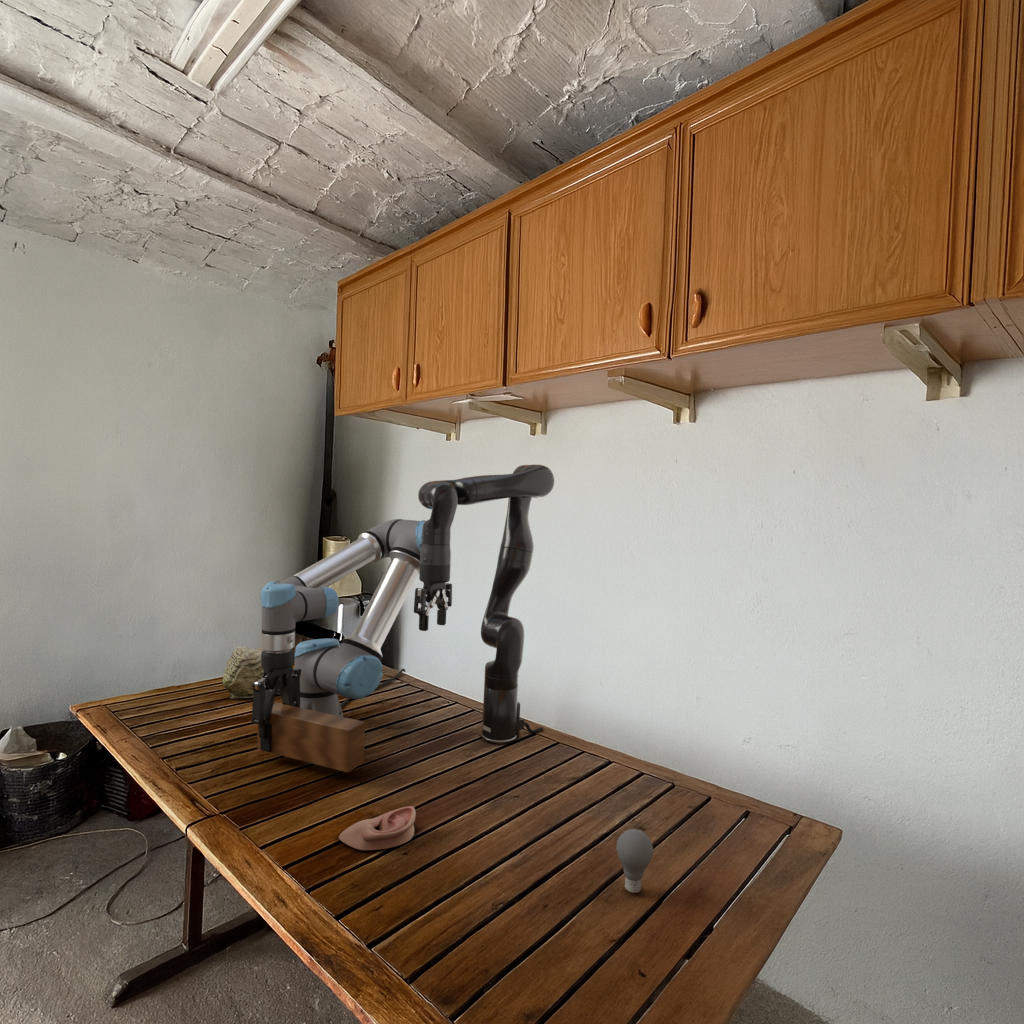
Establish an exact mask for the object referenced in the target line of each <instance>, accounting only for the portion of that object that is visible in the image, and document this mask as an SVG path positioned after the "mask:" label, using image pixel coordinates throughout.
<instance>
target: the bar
mask: <svg viewBox="0 0 1024 1024" xmlns="http://www.w3.org/2000/svg"><path fill="white" fill-rule="evenodd" d="M264 719H265V718H264ZM269 723H271V724H272V747H271V752H269V753H271V754H274V755H278V756H282V757H284V758H285V757H286V758H290V759H294V760H298V761H302V762H306V763H309V764H312V765H317V766H320V767H324V768H329V769H333V770H336V771H339V772H343V773H349V772H351V771H353V770H354V769H356V768H357V767H359V766H361V765H362V764H364V763H365V744H366V743H365V742H366V741H365V740H366V739H365V738H366V721H363V720H360V719H354V718H350V717H345V716H343V717H341V716H336V715H331V714H327V713H322V712H317V711H313V710H308V709H304V708H299V707H294V706H290V705H285V704H282V703H281V702H280V703H279V702H274V704H273V708H272V712H271V717H270V721H269ZM256 733H257V734H256V749H257V750H258V751H261V750H260V738H259V724H257V731H256Z"/></svg>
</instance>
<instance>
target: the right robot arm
mask: <svg viewBox="0 0 1024 1024" xmlns="http://www.w3.org/2000/svg"><path fill="white" fill-rule="evenodd" d="M554 487H555V475H554V473H553V471H552V470H551V469H550V468H549V467H548V466H546V465H542V464H522V465H519V466H517V467H516V468H515V469H514V470H513V472H512V473H507V474H505V473H504V474H484V475H475V476H474V475H473V476H468V477H467V476H466V477H461V478H457V479H443V480H431V481H428V482H427V481H426V482H425V483H424V484H422V485H421V486H420V489H419V490H418V494H417V495H418V496H417V497H418V501H419V503H420V504H421V505H422V506H423V507H424V508H425V509H428V510H431V513H430V518H429V519H426V520H425V522H424V524H423V529H422V546H421V552H420V574H418V576H419V577H418V579H419V581H420V582H422V583H423V586H422V588H420V587H416V588H415V589H414V601H413V613H414V614H416V615H418V630H419V631H421V632H426V631H427V632H428V631H429V620H430V619H429V617H430V616H429V614H430V611H431V610H432V609H433V608H434V606H435V605H436V607H437V610H436V612H437V614H436V625H438V626H446V624H447V611H448V610H449V608H450V607H452V605H453V584H452V583H449V582H450V581H451V562H452V550H451V548H452V547H451V541H452V540H451V538H452V525H453V523H454V520H455V515H456V512H457V508H458V506H470V505H476V504H477V505H478V504H482V503H487V502H493V501H497V500H502V499H503V500H504V499H508V500H507V501H508V502H507V510H506V516H505V522H504V528H503V534H502V539H501V542H500V547H499V552H498V556H497V563H496V568H495V573H494V577H493V581H492V588H491V592H490V595H489V598H488V600H487V601H488V602H487V605H486V608H485V612H484V614H483V618H482V621H481V626H480V638H481V640H482V642H483V643H484V644H485V645H486V646H488V647H490V648H494V649H496V652H495V658H494V660H493V659H492V660H489V661H488V662H486V663H485V665H484V678H483V679H484V680H483V701H482V702H483V703H482V705H483V706H482V727H481V739H482V740H483V741H485V742H487V743H490V744H497V745H504V744H505V745H506V744H511V743H514V742H515V741H516V740H517V739H519V738H520V731H522V730H524V728H526V730H527V732H528V733H530V734H537V733H540V732H543V731H544V727H543V726H541V727H538V728H534V729H532V728H531V726H530V724H529V723H527V722H526V721H525V718H523V717H521V703H520V701H518V699H519V678H520V676H519V675H520V669H521V666H522V663H523V658H524V648H525V627H524V624H523V621H521V620H520V619H519V618H517V617H514V616H510V615H509V613H510V606H511V602H512V601H513V600H512V599H513V598H514V595H515V593H516V592H517V590H518V589H519V587H521V585H522V584H523V582H524V581H525V580H526V578H527V576H528V575H529V573H530V570H531V566H532V562H533V556H534V550H535V542H534V537H533V533H532V529H531V525H530V518H529V515H530V507H531V503H532V499H541V498H544V497H546V496H548V495H550V493H551V492H552V491H553V490H554Z"/></svg>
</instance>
